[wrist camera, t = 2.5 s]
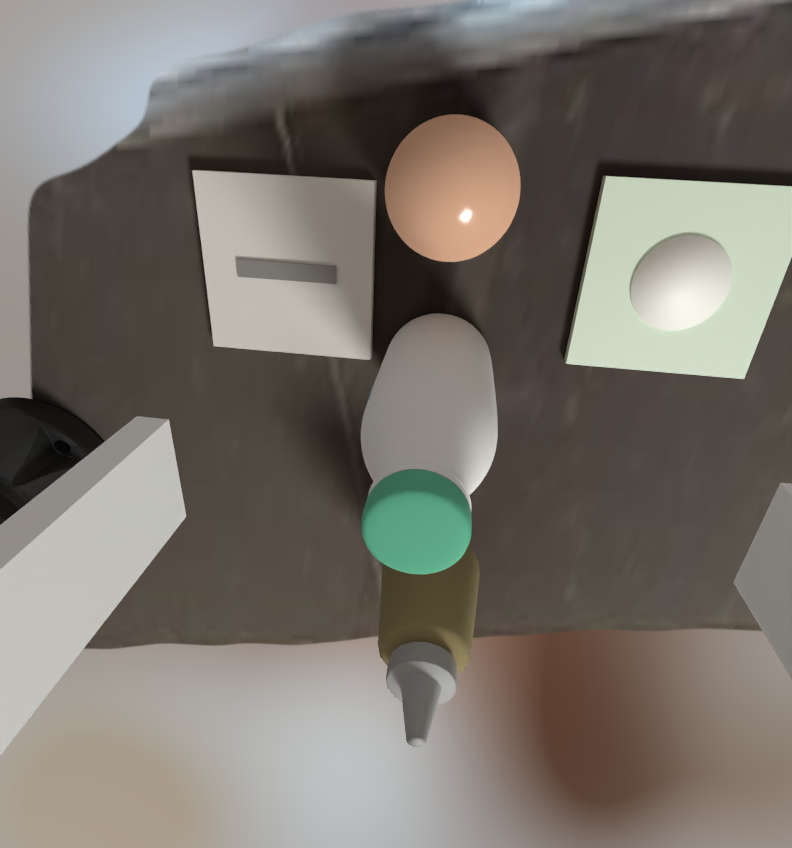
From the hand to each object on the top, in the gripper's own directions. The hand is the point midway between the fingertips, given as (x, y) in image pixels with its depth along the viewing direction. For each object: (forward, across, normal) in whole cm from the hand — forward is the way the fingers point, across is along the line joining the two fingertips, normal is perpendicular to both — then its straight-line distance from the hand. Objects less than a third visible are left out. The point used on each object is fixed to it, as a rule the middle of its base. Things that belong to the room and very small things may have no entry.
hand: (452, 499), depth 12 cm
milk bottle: (+27, -1, -7) cm, 28 cm away
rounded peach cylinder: (+27, -1, +5) cm, 27 cm away
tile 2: (+27, +14, 0) cm, 30 cm away
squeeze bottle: (+27, 0, -24) cm, 36 cm away
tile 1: (+27, -12, -1) cm, 30 cm away
